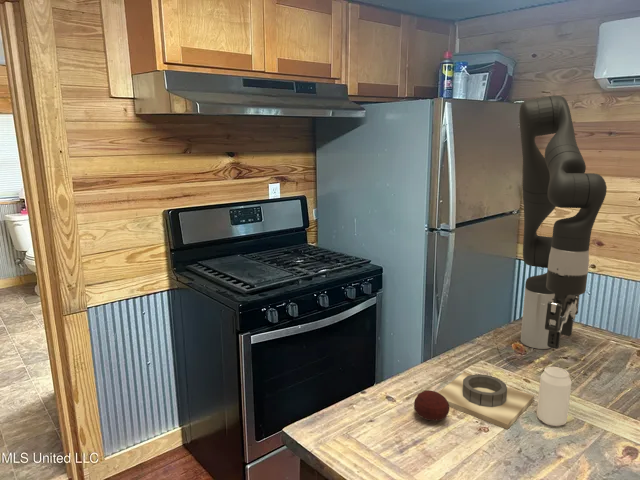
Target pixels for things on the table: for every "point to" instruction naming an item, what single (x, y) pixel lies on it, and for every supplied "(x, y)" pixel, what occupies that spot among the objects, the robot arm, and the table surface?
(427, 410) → the potato
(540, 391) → the beverage can
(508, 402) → the ring board
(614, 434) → the table surface
